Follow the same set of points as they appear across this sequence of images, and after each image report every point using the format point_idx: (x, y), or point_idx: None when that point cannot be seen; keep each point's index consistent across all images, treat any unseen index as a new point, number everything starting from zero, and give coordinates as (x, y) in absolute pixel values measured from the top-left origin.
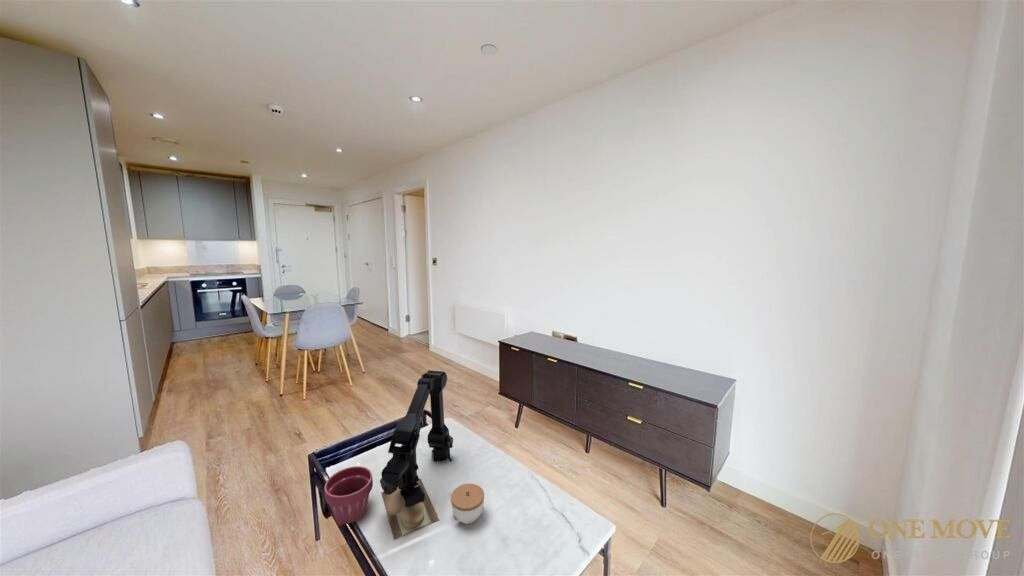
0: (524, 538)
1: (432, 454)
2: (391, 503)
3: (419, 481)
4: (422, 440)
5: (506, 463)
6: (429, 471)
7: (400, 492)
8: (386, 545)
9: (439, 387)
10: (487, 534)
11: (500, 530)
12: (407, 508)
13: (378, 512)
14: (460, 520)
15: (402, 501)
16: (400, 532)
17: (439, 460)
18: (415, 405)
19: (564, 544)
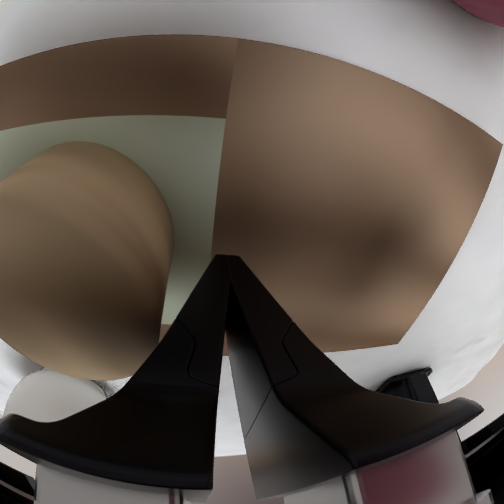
0: (7, 397)
1: (428, 395)
2: (387, 140)
3: (386, 338)
4: (488, 346)
5: (232, 454)
6: (396, 359)
7: (125, 483)
8: (15, 19)
9: None
10: (10, 375)
11: None
12: (45, 278)
13: (387, 30)
14: (22, 380)
15: (337, 222)
16: (7, 121)
17: (393, 395)
18: None
19: (3, 408)
